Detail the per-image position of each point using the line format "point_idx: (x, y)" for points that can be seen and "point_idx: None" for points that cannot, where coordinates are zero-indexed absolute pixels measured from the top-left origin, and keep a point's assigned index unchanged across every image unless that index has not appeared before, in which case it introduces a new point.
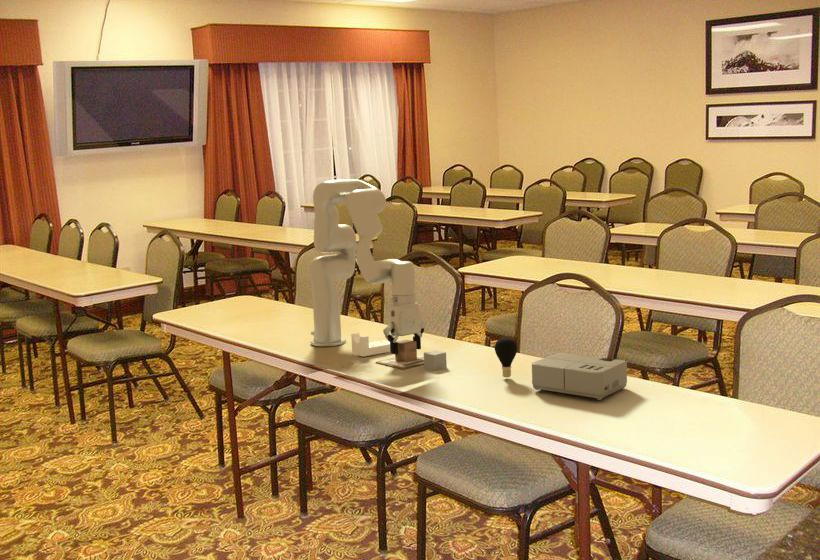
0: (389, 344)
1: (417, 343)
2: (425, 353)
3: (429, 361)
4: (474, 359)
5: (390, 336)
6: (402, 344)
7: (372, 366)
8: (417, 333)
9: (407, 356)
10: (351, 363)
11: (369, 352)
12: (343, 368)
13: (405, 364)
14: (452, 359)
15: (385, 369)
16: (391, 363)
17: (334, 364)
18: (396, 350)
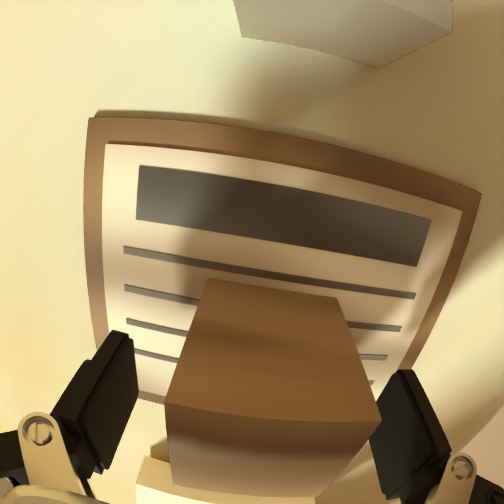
0: (169, 492)
1: (114, 390)
2: (449, 6)
3: None
4: (4, 6)
5: (500, 499)
6: (361, 436)
7: (441, 386)
8: (74, 481)
9: (320, 319)
10: None
11: None
12: (474, 422)
13: (397, 251)
14: (35, 86)
15: (489, 295)
16: (397, 349)
17: None
18: (422, 394)
